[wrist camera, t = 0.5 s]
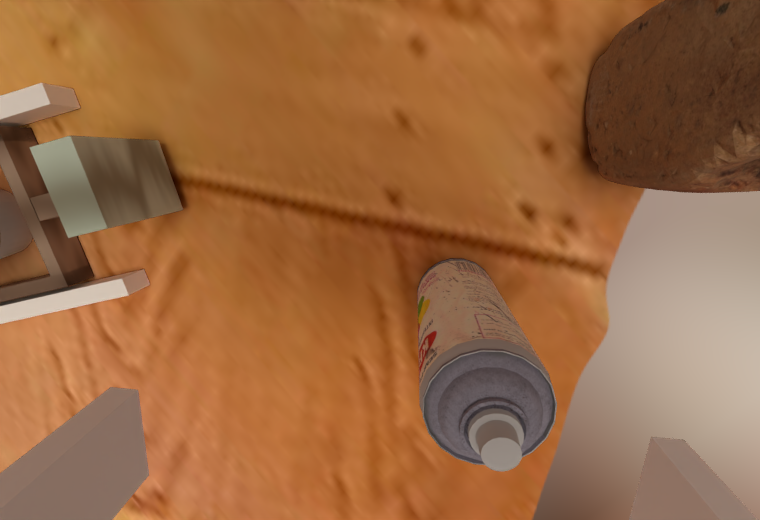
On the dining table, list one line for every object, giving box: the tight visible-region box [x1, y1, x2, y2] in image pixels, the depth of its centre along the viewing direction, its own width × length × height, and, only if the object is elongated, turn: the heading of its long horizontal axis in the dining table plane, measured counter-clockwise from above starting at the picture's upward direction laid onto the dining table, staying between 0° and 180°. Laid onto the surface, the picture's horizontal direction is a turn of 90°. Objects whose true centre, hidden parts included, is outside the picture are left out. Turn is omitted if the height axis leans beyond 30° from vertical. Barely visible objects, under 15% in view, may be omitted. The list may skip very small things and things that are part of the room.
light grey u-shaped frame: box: [0, 83, 150, 324], centre depth 36 cm, size 18×20×3 cm
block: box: [585, 0, 760, 193], centre depth 22 cm, size 11×8×20 cm
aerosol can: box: [418, 259, 557, 471], centre depth 27 cm, size 7×7×20 cm
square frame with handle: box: [0, 126, 183, 302], centre depth 32 cm, size 14×25×10 cm, turn 104°
